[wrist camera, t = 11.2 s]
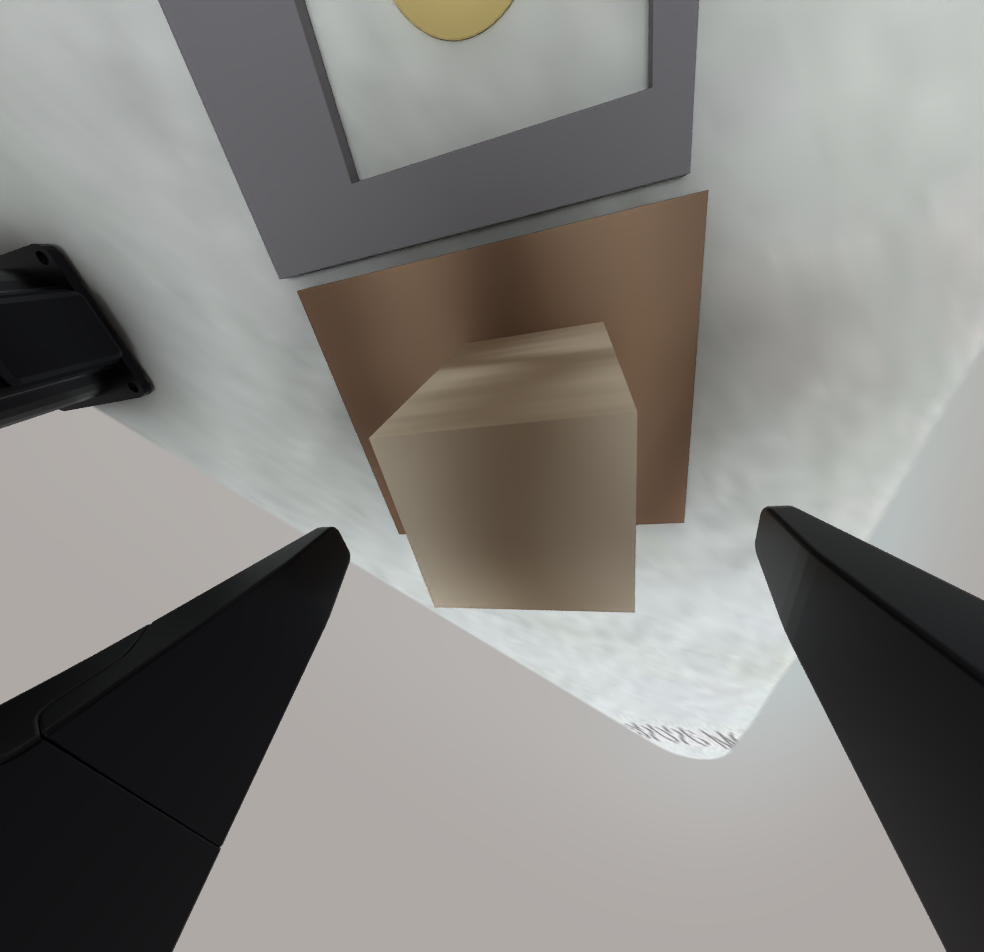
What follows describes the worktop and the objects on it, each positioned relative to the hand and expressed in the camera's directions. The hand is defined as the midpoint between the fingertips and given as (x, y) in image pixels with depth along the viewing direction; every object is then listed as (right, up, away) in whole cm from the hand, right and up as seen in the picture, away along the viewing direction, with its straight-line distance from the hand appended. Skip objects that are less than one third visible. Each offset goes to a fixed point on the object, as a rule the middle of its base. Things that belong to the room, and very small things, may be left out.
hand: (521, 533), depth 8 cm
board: (0, +4, +8) cm, 9 cm away
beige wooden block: (+1, +4, +7) cm, 8 cm away
